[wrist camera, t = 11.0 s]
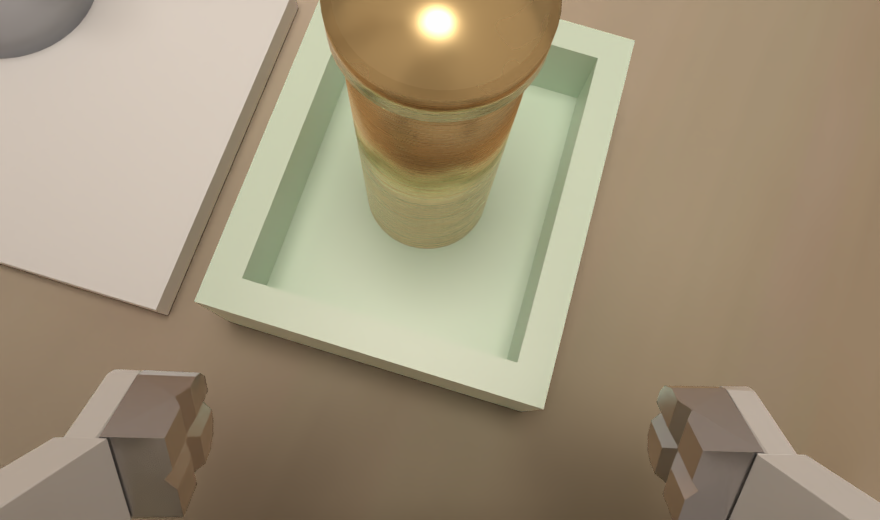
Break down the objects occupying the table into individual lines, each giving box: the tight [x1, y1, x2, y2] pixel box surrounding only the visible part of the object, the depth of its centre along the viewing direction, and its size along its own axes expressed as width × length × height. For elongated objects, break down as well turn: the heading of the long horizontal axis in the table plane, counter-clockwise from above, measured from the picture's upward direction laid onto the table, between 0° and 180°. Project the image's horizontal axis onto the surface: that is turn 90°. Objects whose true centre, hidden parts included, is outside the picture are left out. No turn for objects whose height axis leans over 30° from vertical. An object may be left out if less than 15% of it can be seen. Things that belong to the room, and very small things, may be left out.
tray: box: [194, 0, 635, 412], centre depth 20 cm, size 10×12×4 cm
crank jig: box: [0, 0, 298, 315], centre depth 19 cm, size 13×12×7 cm
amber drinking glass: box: [320, 0, 562, 249], centre depth 16 cm, size 4×4×10 cm
